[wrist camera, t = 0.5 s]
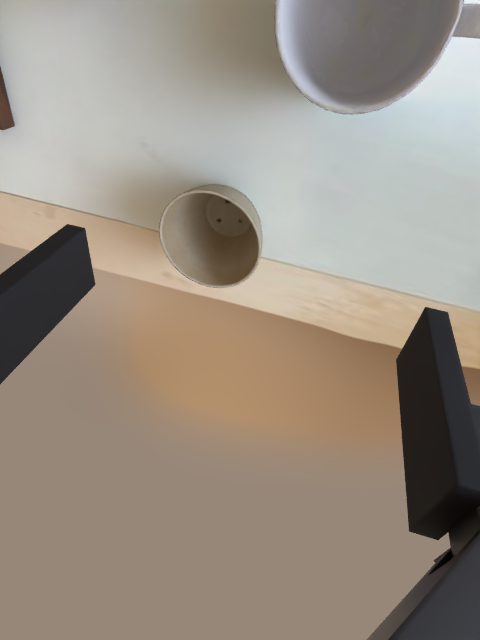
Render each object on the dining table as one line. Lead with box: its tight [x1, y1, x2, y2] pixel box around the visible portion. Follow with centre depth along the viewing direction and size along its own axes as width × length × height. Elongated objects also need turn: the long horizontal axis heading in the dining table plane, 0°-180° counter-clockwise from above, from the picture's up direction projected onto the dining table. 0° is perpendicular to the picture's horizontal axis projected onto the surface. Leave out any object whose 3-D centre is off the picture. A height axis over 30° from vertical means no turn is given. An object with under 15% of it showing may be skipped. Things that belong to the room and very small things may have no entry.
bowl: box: [159, 185, 263, 288], centre depth 38 cm, size 10×10×7 cm
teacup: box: [274, 0, 480, 114], centre depth 25 cm, size 14×11×8 cm
